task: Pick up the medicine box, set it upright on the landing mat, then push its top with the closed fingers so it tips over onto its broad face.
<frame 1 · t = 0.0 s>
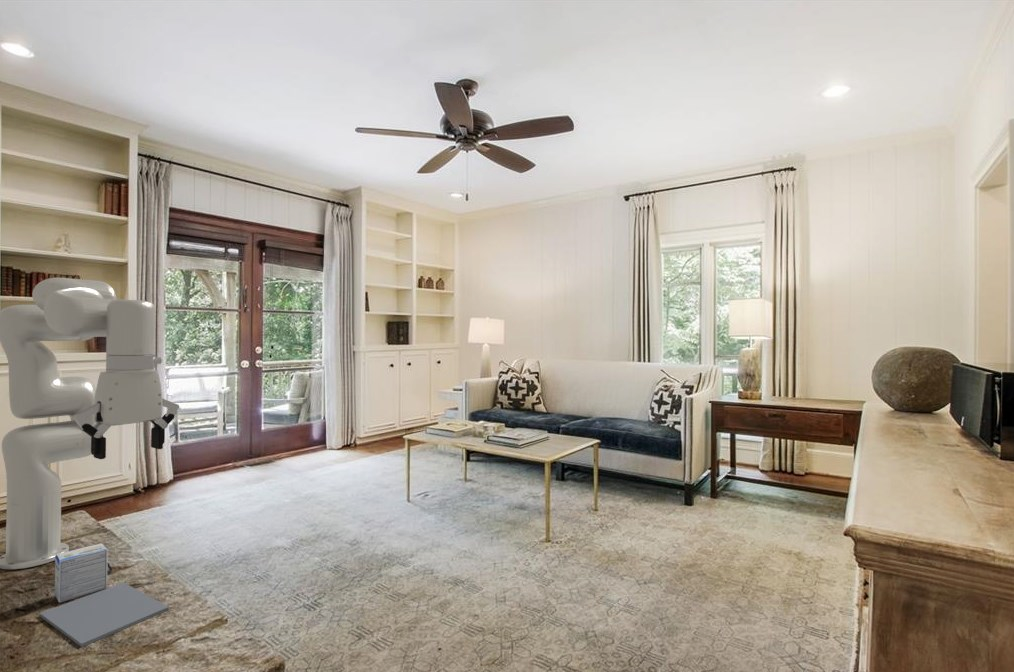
hand: (129, 452, 98), 31 cm above the countertop, tool pointing down, fingers open, 9 cm apart
medicine box: (81, 593, 106), on the countertop
phone: (84, 571, 117), on the countertop
landing mat: (104, 613, 99), on the countertop
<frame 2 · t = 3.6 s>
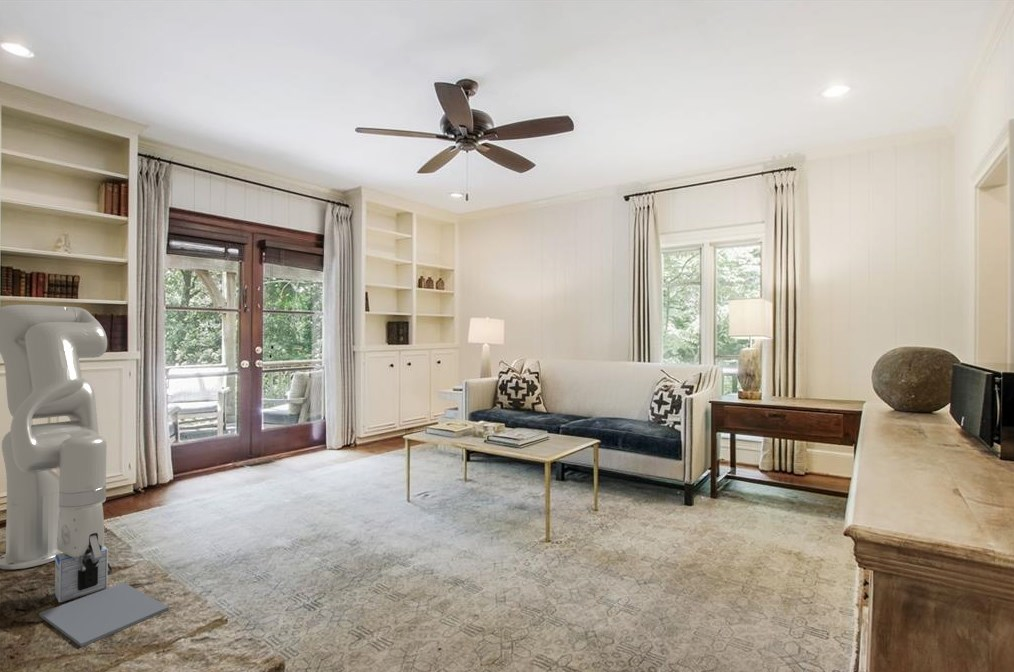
hand: (81, 582, 106), 2 cm above the countertop, tool pointing down, fingers closed on medicine box, 5 cm apart
medicine box: (81, 593, 106), on the countertop, touching gripper
everything else where it was.
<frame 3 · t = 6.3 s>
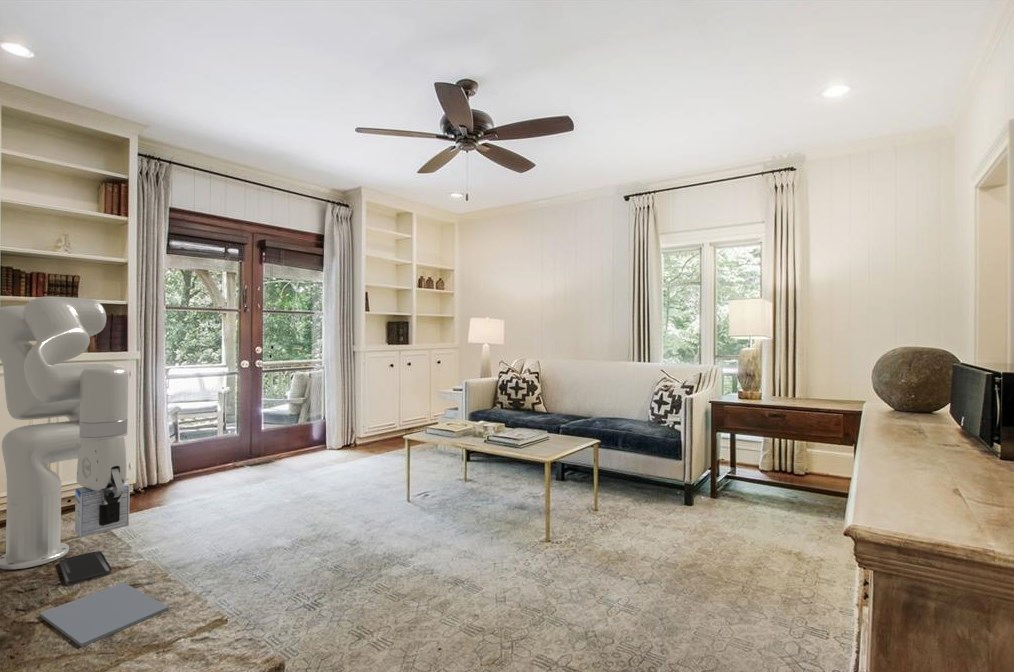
hand: (102, 519, 102), 17 cm above the countertop, tool pointing down, fingers closed on medicine box, 5 cm apart
medicine box: (102, 530, 102), point 15 cm above the countertop, touching gripper
everything else where it was.
when the fingers open (4 cm above the countertop, at t = 9.0 s): medicine box stays where it is, resting on landing mat.
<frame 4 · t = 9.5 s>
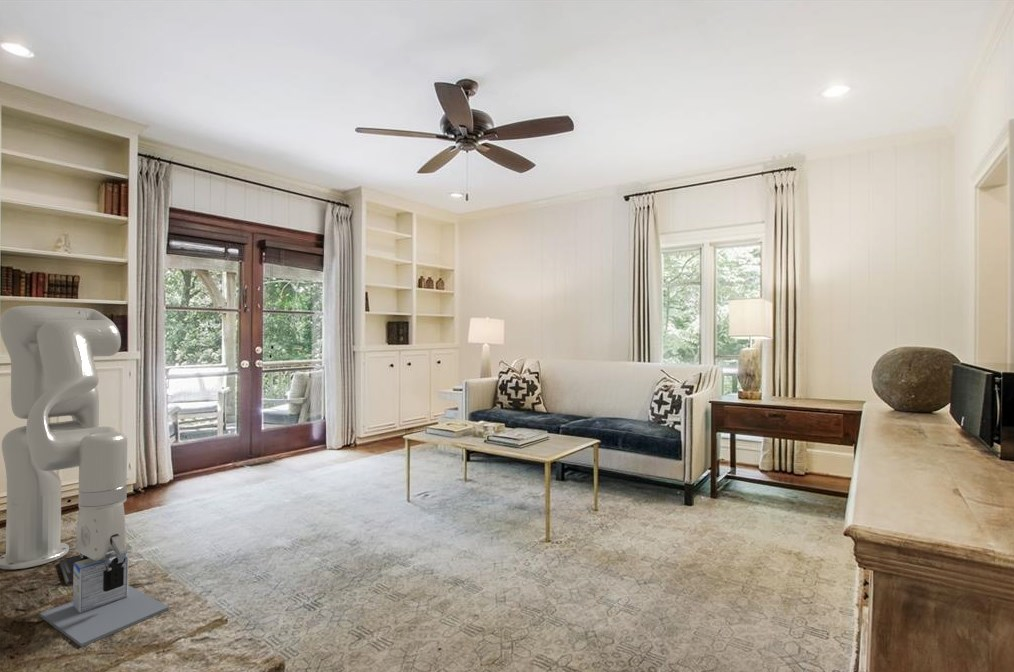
hand: (101, 581, 102), 5 cm above the countertop, tool pointing down, fingers open, 9 cm apart
medicine box: (100, 602, 102), resting on landing mat
everything else where it was.
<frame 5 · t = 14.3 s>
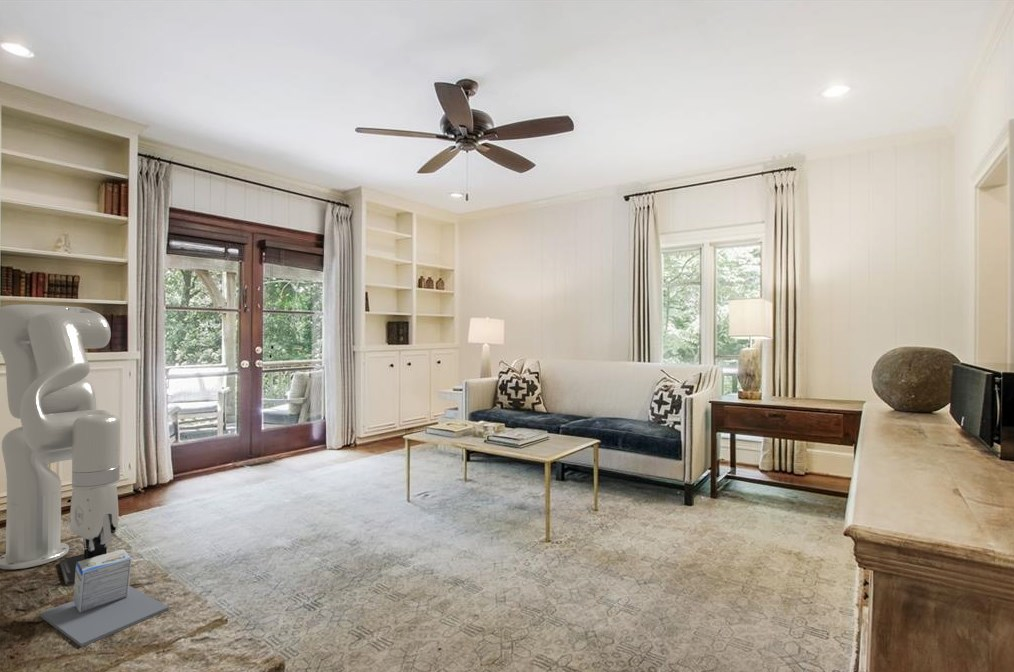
hand: (95, 567, 103), 7 cm above the countertop, tool pointing down, fingers closed
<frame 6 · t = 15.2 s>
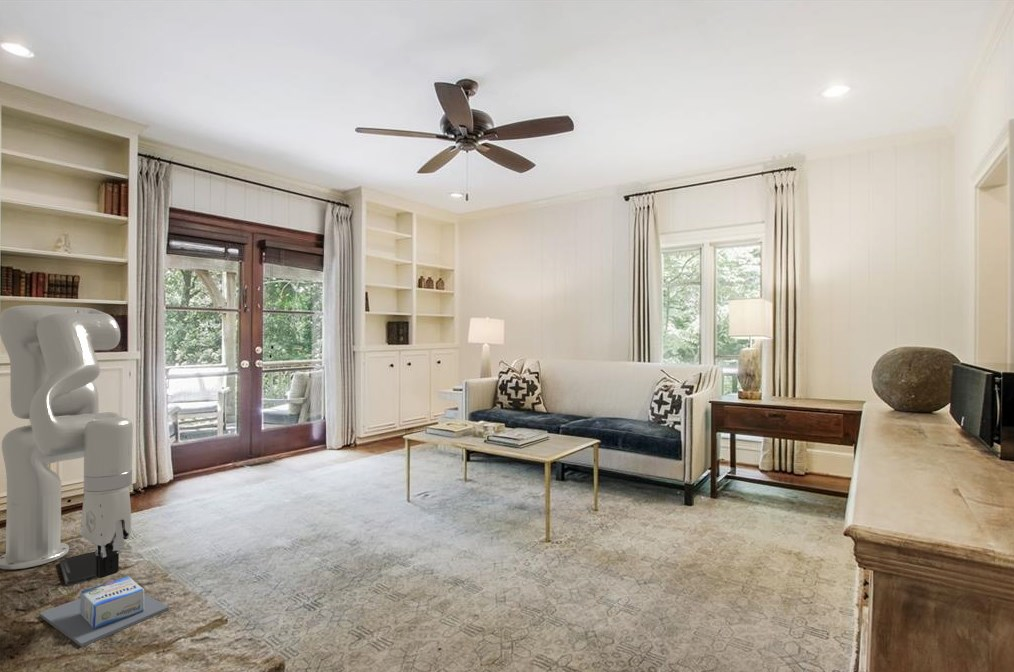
hand: (107, 574, 101), 7 cm above the countertop, tool pointing down, fingers closed
medicine box: (104, 593, 101), point 3 cm above the countertop, touching landing mat
everything else where it was.
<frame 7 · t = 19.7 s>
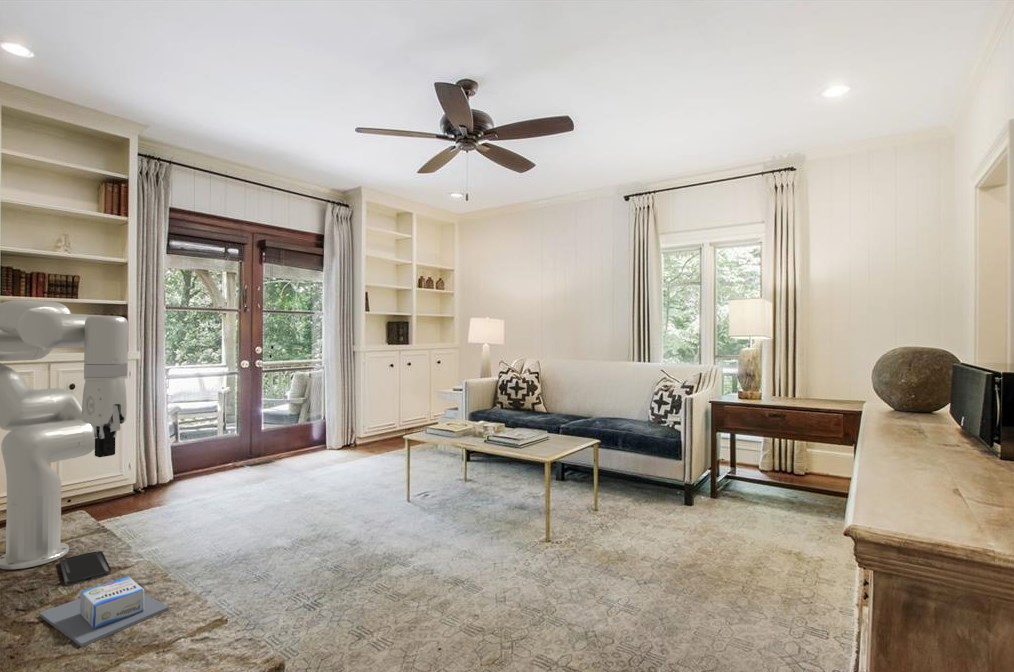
hand: (104, 455, 112), 27 cm above the countertop, tool pointing down, fingers closed
nothing on the countertop moved.
at the end: medicine box tilted 89°; medicine box inside the target area on the landing mat (2.3 cm from its centre), point 2.8 cm above the landing mat's base; the gripper is holding nothing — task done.
